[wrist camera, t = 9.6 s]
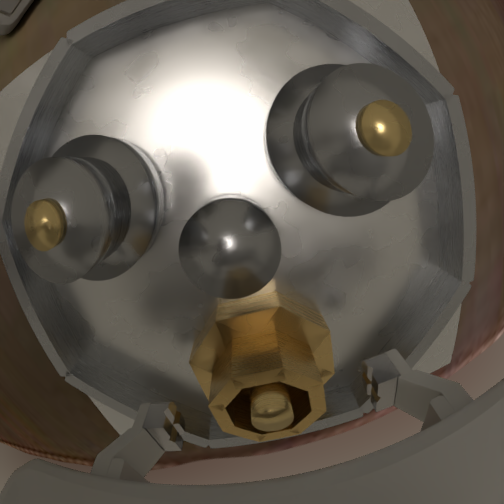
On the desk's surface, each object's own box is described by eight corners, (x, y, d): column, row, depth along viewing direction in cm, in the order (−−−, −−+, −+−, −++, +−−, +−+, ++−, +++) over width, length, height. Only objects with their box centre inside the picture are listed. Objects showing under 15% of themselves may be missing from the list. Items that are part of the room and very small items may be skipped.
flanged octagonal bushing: (220, 402, 14) (217, 457, 10) (179, 311, 12) (159, 366, 9) (329, 379, 14) (349, 431, 10) (316, 279, 12) (346, 326, 8)
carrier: (125, 425, 17) (106, 480, 11) (0, 104, 9) (-60, 98, 4) (442, 353, 16) (482, 399, 10) (389, -9, 9) (435, -52, 3)
